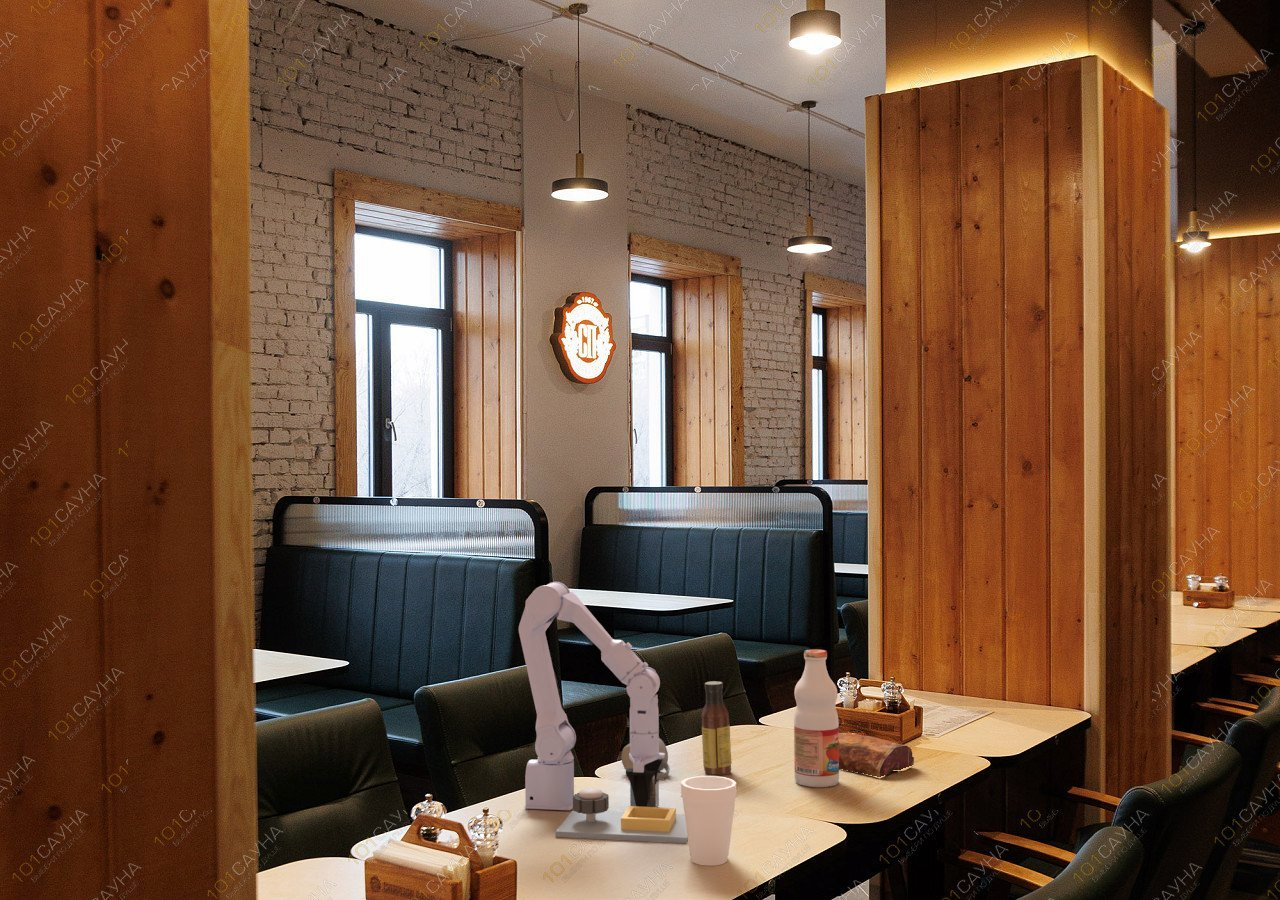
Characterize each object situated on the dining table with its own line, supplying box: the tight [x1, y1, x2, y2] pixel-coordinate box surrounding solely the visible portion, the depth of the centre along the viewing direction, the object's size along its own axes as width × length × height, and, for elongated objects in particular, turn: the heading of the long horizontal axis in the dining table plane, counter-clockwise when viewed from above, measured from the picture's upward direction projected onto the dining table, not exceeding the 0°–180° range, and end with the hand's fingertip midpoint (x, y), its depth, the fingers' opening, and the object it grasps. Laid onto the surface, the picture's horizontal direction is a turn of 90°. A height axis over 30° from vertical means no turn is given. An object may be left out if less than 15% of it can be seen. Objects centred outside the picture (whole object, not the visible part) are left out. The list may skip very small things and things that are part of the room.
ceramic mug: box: [621, 737, 670, 780], centre depth 253 cm, size 11×8×8 cm
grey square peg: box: [629, 775, 660, 807], centre depth 227 cm, size 5×4×6 cm
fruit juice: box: [793, 649, 840, 788], centre depth 246 cm, size 9×9×28 cm
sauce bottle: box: [700, 680, 733, 776], centre depth 255 cm, size 7×6×20 cm
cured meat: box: [838, 732, 915, 777], centre depth 264 cm, size 18×25×7 cm
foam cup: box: [680, 775, 738, 867], centre depth 197 cm, size 10×9×13 cm
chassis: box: [555, 805, 688, 844], centre depth 214 cm, size 24×14×3 cm, turn 80°
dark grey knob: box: [572, 788, 610, 814], centre depth 216 cm, size 6×6×3 cm
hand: (644, 800), depth 227 cm, fingers open, 7 cm apart
